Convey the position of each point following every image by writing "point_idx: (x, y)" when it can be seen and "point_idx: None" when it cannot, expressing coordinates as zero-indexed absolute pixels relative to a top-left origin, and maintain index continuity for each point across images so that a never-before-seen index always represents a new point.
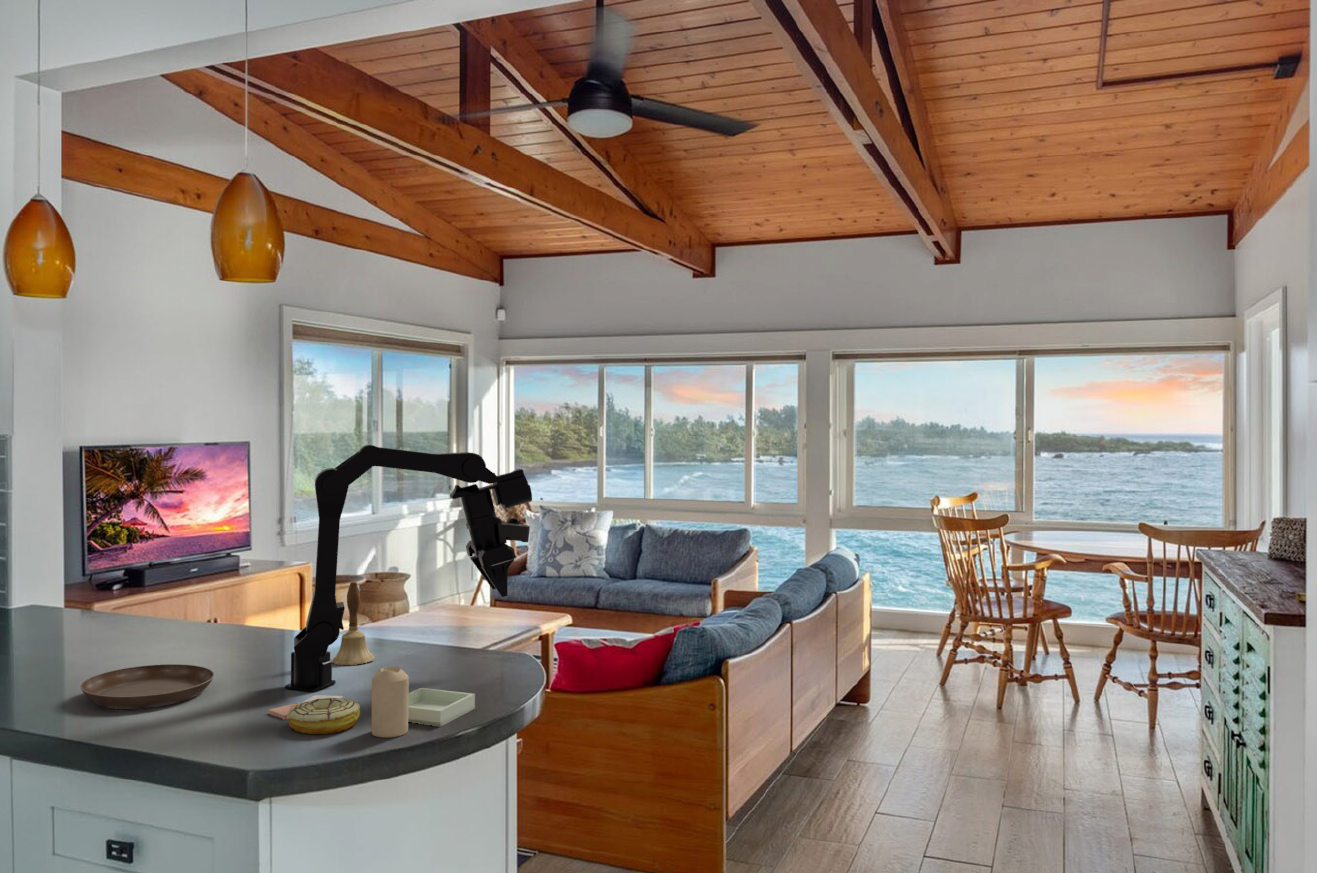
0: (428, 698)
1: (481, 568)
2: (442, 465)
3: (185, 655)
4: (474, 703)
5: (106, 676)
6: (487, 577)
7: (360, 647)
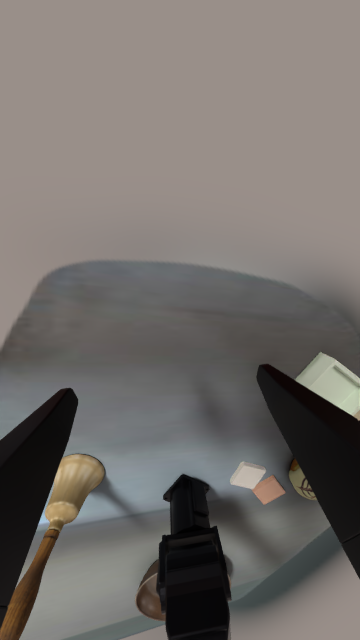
0: None
1: (6, 581)
2: None
3: (41, 591)
4: (326, 355)
5: (159, 614)
6: (47, 474)
7: (82, 487)
